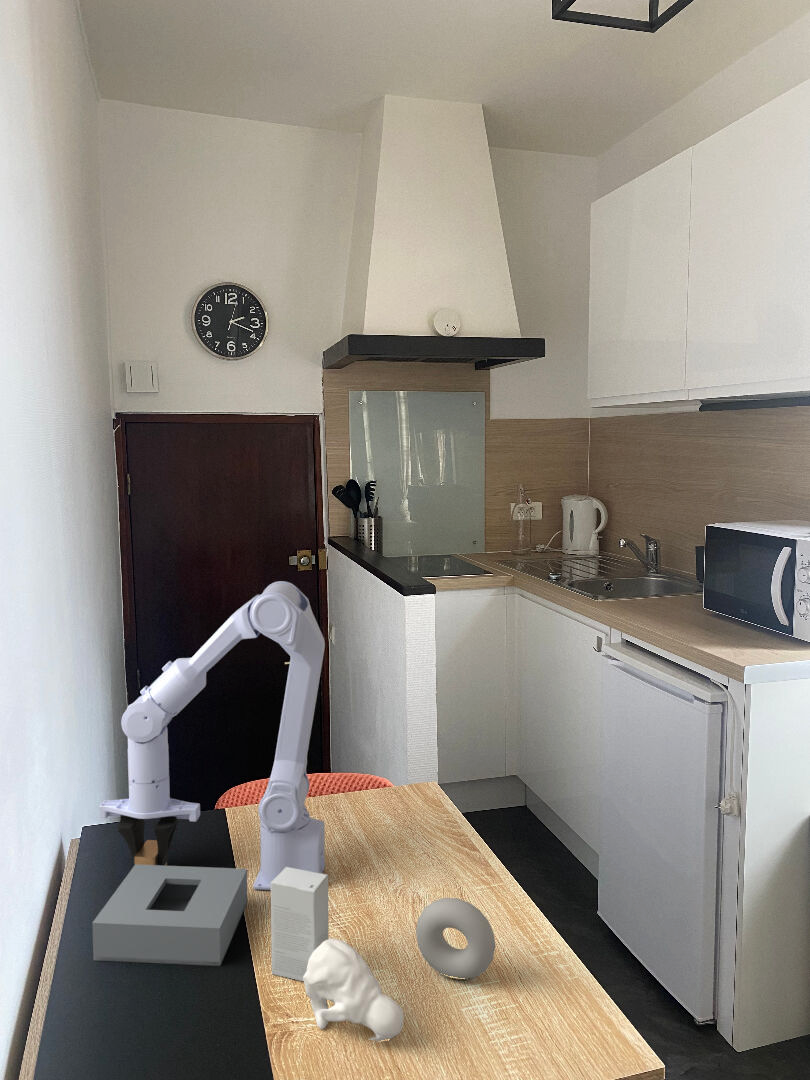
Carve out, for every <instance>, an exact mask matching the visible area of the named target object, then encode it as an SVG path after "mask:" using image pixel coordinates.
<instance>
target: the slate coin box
mask: <svg viewBox="0 0 810 1080" xmlns="http://www.w3.org/2000/svg"><path fill="white" fill-rule="evenodd" d="M247 905H248V868H238V867H237V868H232V867H213V866H212V867H210V866H207V867H206V866H186V865H185V866H184V865H183V866H181V865H179V866H178V865H167V866H161V865H136V864H135V865H133V867H132V868H131V870H130V871H129V872H128V873H127V875H126V877H125V878H124V879H123V881H122V882H121V883H120V884H119V886H118V887H117V888H116V890H115V891H114V893H112V896H111V897H110V898H109V899H108V901H107V902H106V904H105V905H104V906H103V908H102V909H101V910H100V911H99V913H98V915H97V916H96V917H95V919H94V920H93V921H92V925H91V926H92V927H91V929H92V951H93V952H92V954H93V961H101V962H103V961H104V962H121V963H122V962H123V963H124V962H125V963H126V962H127V963H145V964H146V963H147V964H164V965H165V964H167V965H186V966H187V965H193V966H211V967H212V966H214V967H216V966H217V967H221V965H222V962H223V961H224V958H225V956H226V953H227V950H228V948H229V946H230V944H231V941H232V939H233V937H234V934H235V932H236V930H237V928H238V926H239V924H240V923H239V922H240V920H241V919H242V916H243V913H244V912H245V908H246V907H247Z"/></svg>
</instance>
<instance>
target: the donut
mask: <svg viewBox="0 0 810 1080" xmlns="http://www.w3.org/2000/svg"><path fill="white" fill-rule="evenodd" d="M416 923H417V924H416V928H415V934H416V935H415V937H416V943H417V947H418V948H419V950H420V952H421V956H422V958H423V959H424V961H426V963H427V964H428V965H429V966H430V967H431V968H432V969H433V970H435V971H436V972H437V971H438V974H440V973H442V974H445V975H448V976H453V977H458V978H465V979H467V978H471V979H474V978H477V977H478V976H480V975H482V974H483V973H485V972H486V971H487V969H489V967H490V965H491V963H492V962H493V960H494V955H495V951H496V946H497V945H496V939H495V933H494V930H493V928H492V926H491V923H490V921H489V919H488V918H487V917H486V916H485V915H484V914H483V912H482V911H481V910H480V908H478V907H476V906H474V905H473V904H472V903H471V902H469V901H466V900H464V899H462V898H457V897H456V898H455V897H444V898H443V897H442V898H440V899H435V900H433V901H432V902H431V903H429V904H428V905H427V906H425V907H424V908H423V910H422V911H421V913H420V915H419V917H418V919H417V922H416ZM447 928H448V929H449V928H451V929H455V930H456V931H459V932H460V933H461V934H462V935H463V936H464V937H465V940H466V942H467V946H466V947H465V948H456V947H454V946H452V945H451V944H450V943H448V941H447V940H446V938H445V936H444V931H445V930H446V929H447ZM442 974H441V975H442ZM467 980H468V979H467Z"/></svg>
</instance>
